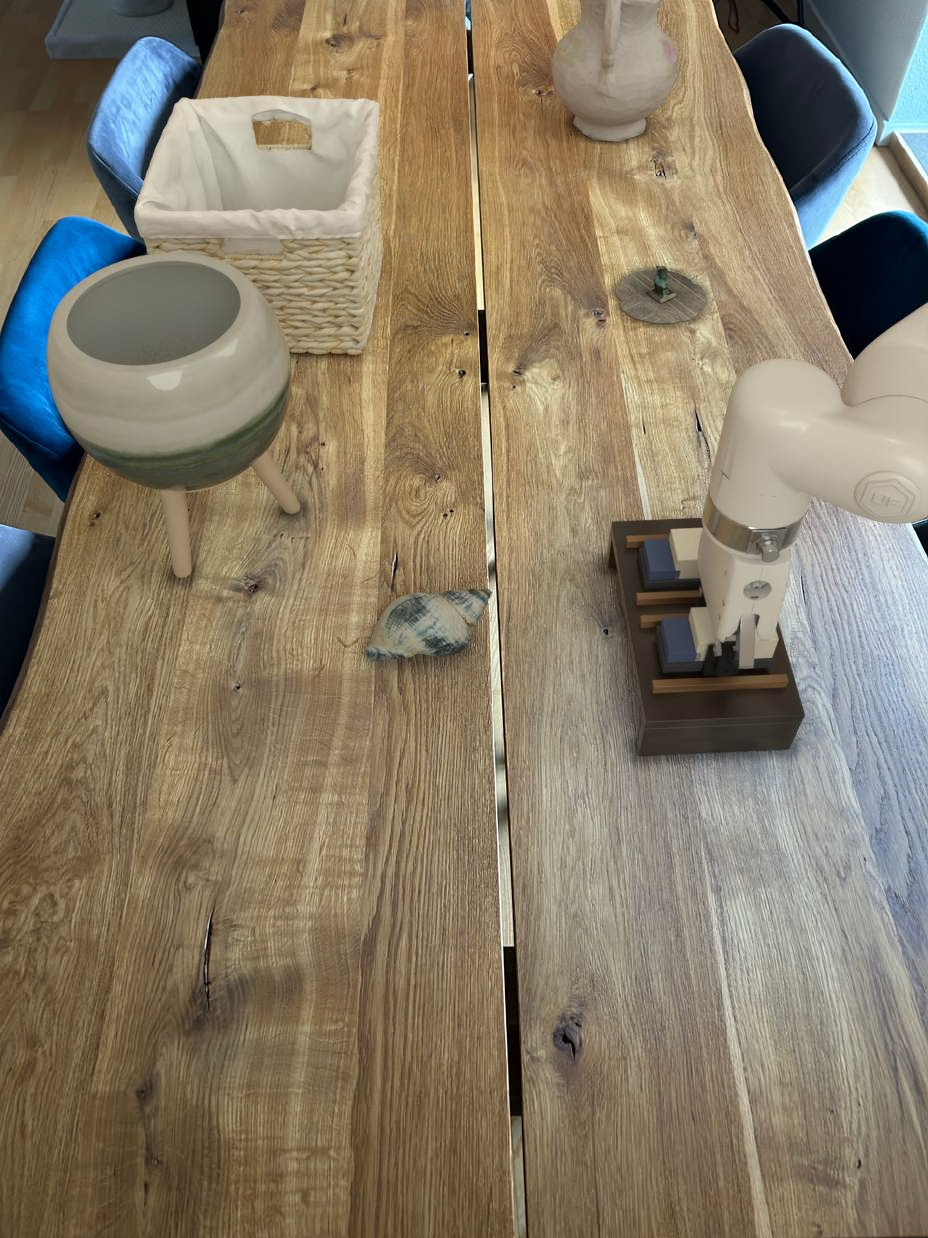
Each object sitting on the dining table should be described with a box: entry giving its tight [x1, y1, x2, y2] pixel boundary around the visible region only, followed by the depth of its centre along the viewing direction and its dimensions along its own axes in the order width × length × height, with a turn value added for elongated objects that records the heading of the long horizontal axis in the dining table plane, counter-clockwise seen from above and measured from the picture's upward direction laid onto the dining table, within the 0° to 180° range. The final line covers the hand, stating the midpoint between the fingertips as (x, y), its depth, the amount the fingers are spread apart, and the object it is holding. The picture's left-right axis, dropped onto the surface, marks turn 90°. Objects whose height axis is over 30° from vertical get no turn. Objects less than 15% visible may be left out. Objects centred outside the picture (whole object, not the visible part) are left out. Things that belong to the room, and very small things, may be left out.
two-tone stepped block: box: [638, 528, 703, 590], centre depth 97 cm, size 10×4×4 cm, turn 92°
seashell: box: [364, 588, 493, 663], centre depth 100 cm, size 6×8×12 cm
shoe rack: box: [605, 517, 806, 757], centre depth 98 cm, size 14×24×7 cm, turn 2°
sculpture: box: [615, 265, 707, 325], centre depth 136 cm, size 12×9×8 cm
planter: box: [45, 253, 301, 579], centre depth 102 cm, size 22×22×28 cm
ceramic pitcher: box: [551, 0, 679, 143], centre depth 155 cm, size 22×20×25 cm
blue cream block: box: [655, 607, 779, 673], centre depth 91 cm, size 10×4×4 cm, turn 92°
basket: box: [133, 94, 385, 356], centre depth 128 cm, size 27×27×22 cm
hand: (714, 648), depth 92 cm, fingers closed on blue cream block, 4 cm apart
